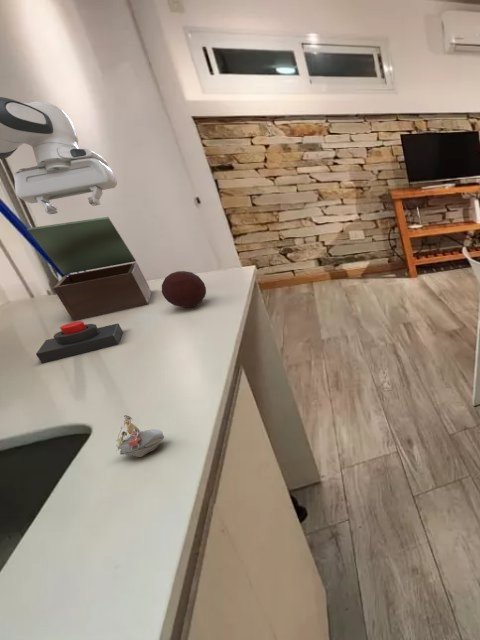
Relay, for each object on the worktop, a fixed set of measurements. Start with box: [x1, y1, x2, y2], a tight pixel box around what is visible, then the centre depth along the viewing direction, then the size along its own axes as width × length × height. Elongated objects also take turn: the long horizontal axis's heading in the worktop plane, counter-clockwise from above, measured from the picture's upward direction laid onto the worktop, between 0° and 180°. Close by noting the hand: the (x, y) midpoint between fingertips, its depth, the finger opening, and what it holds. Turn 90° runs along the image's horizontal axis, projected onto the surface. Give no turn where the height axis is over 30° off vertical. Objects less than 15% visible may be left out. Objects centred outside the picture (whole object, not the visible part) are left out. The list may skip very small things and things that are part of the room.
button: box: [59, 320, 87, 335], centre depth 102 cm, size 4×4×2 cm
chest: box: [52, 261, 153, 322], centre depth 126 cm, size 14×15×9 cm
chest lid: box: [26, 216, 137, 276], centre depth 124 cm, size 15×15×1 cm
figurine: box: [115, 414, 165, 458], centre depth 67 cm, size 5×4×6 cm
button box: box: [35, 322, 124, 364], centre depth 103 cm, size 12×9×4 cm
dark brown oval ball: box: [161, 270, 207, 308], centre depth 121 cm, size 9×12×9 cm
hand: (73, 208), depth 126 cm, fingers open, 8 cm apart
